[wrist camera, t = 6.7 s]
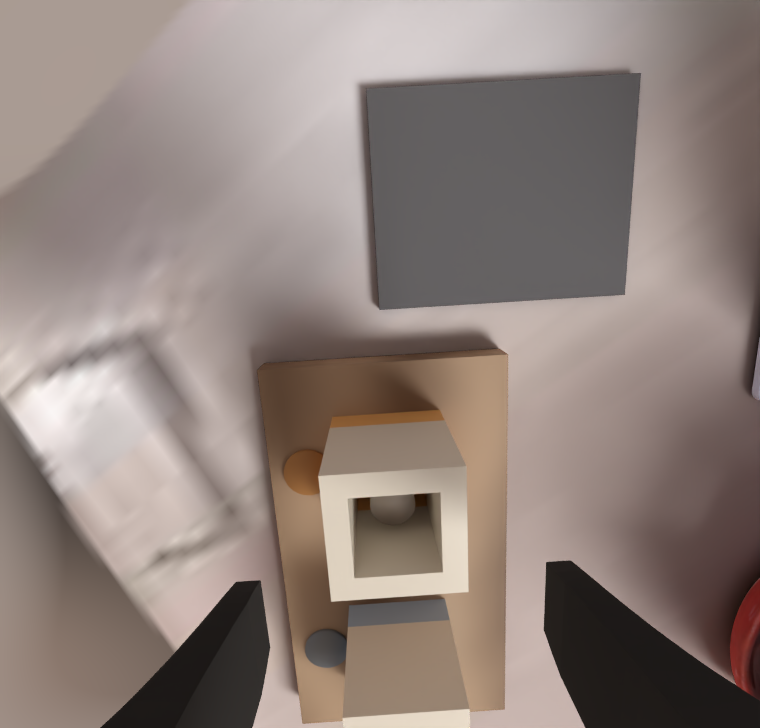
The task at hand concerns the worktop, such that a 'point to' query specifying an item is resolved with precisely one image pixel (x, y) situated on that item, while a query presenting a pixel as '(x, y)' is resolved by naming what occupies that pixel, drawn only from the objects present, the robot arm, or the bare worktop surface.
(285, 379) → the pin board
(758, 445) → the worktop surface
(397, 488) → the cream square sleeve
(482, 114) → the mat
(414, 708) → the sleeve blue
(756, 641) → the plant pot
